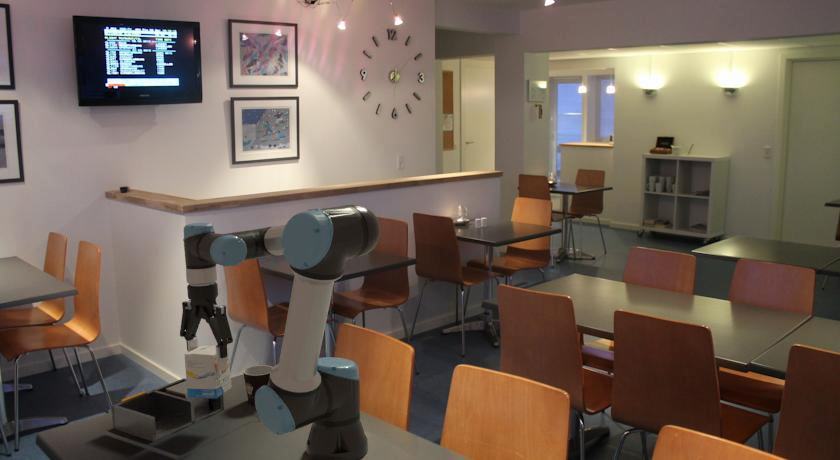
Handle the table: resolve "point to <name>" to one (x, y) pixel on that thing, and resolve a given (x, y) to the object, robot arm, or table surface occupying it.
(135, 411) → the grey compartment tray
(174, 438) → the table surface
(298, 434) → the table surface
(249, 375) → the coffee mug
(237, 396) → the table surface
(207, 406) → the light grey block
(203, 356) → the ink box
